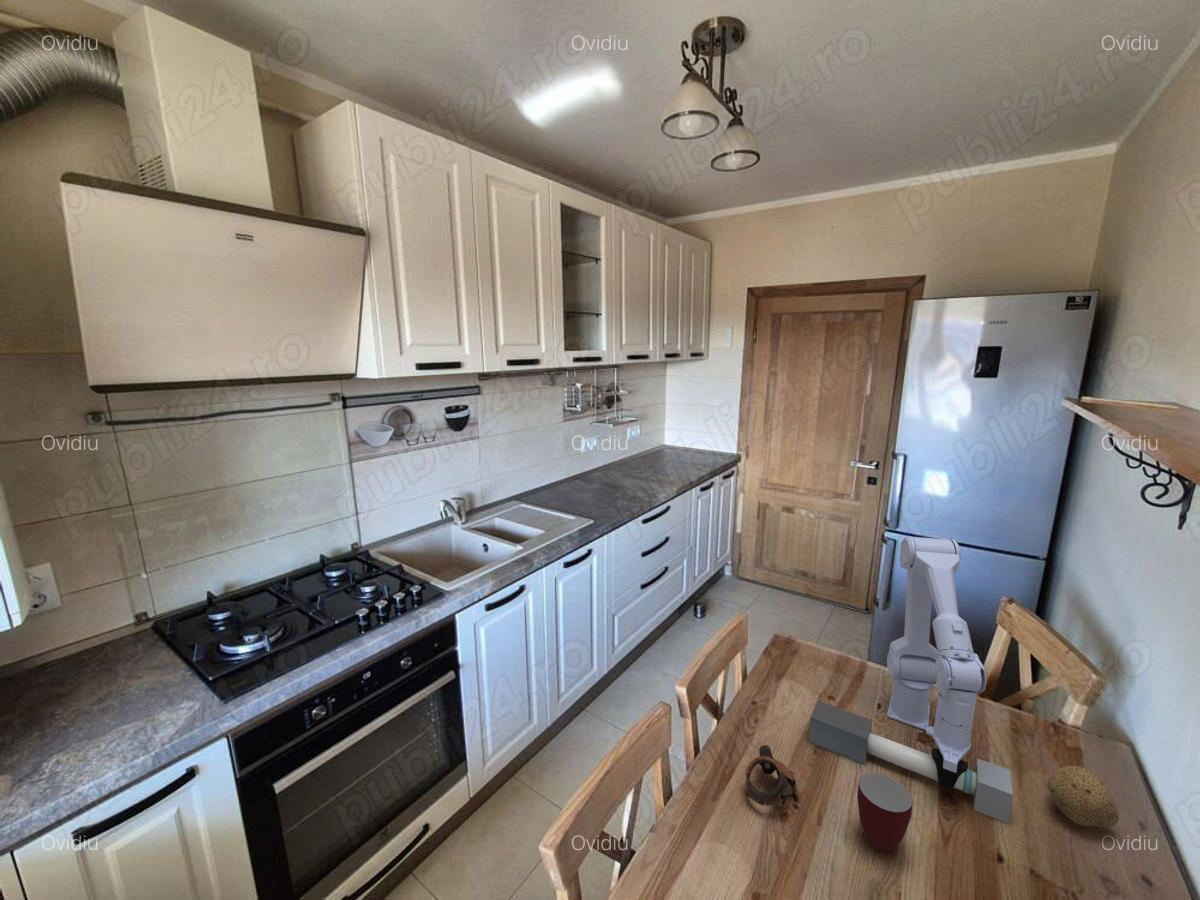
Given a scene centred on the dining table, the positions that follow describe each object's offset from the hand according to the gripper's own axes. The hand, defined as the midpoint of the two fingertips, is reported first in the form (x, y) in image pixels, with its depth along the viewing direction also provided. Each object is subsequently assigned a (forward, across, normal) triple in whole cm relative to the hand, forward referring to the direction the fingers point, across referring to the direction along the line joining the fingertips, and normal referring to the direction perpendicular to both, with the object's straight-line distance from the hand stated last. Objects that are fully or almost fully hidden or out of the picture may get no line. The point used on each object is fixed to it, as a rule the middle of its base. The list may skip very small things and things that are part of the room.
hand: (945, 778), depth 97 cm
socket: (+2, 0, +7) cm, 7 cm away
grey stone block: (+2, 0, -19) cm, 19 cm away
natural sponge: (+2, -5, +20) cm, 20 cm away
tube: (+1, 0, -5) cm, 5 cm away
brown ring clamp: (+2, +21, -28) cm, 34 cm away
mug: (+2, +19, -10) cm, 21 cm away
